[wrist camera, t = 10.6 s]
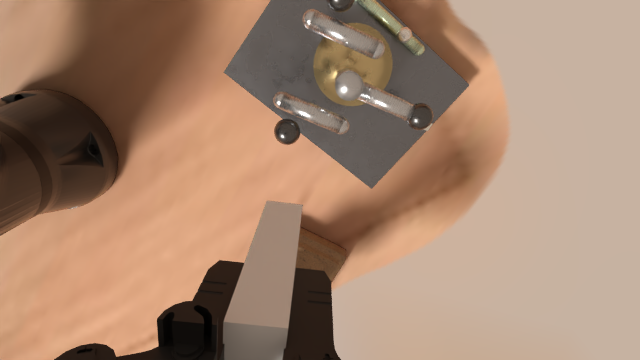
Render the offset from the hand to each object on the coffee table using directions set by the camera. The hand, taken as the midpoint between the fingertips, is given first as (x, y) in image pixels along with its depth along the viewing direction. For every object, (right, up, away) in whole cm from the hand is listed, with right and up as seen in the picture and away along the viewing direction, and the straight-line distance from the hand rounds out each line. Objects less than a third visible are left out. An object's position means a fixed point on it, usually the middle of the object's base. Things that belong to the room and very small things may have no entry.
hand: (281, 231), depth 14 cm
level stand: (+5, +14, +24) cm, 28 cm away
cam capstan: (+6, +13, +22) cm, 26 cm away
